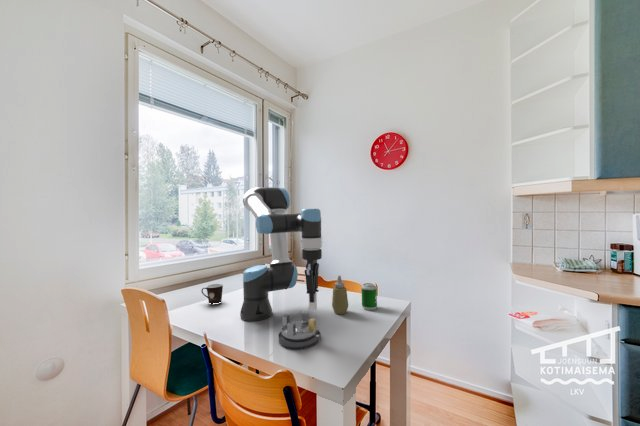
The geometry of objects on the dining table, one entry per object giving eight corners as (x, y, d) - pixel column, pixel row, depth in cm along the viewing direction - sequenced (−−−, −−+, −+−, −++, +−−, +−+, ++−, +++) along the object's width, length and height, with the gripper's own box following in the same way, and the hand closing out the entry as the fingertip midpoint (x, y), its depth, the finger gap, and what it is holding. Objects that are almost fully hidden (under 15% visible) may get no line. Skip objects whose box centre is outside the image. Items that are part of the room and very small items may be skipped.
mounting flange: (271, 346, 97) (270, 340, 97) (289, 328, 112) (289, 323, 112) (311, 352, 92) (311, 346, 92) (325, 332, 107) (324, 326, 107)
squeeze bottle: (347, 316, 123) (346, 277, 123) (330, 315, 125) (329, 277, 125) (349, 309, 131) (348, 274, 131) (333, 309, 133) (332, 273, 133)
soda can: (374, 312, 127) (373, 287, 127) (359, 309, 131) (358, 285, 131) (379, 307, 134) (378, 283, 134) (365, 304, 138) (364, 282, 138)
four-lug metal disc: (292, 323, 111) (292, 309, 111) (322, 328, 105) (321, 313, 105) (274, 338, 98) (274, 322, 98) (307, 344, 93) (306, 327, 93)
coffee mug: (226, 302, 148) (226, 284, 148) (213, 307, 141) (212, 288, 141) (213, 299, 155) (213, 282, 155) (200, 303, 147) (199, 285, 147)
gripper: (307, 246, 108) (308, 303, 108) (297, 251, 95) (298, 315, 95) (324, 246, 106) (325, 304, 106) (317, 251, 93) (318, 317, 94)
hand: (313, 309), depth 101 cm, fingers closed
